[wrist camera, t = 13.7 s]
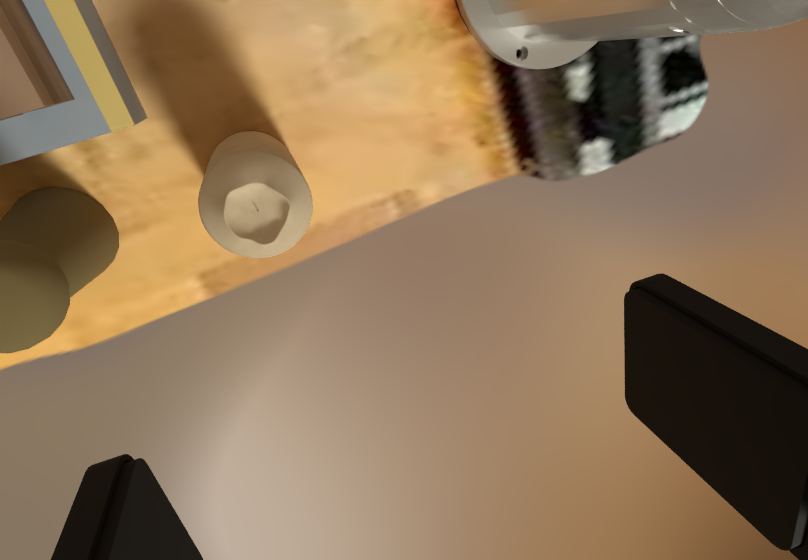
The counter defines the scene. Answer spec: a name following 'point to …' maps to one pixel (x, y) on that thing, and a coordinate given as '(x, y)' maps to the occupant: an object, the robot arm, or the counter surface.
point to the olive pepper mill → (49, 261)
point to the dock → (73, 84)
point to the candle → (254, 196)
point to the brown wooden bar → (26, 65)
